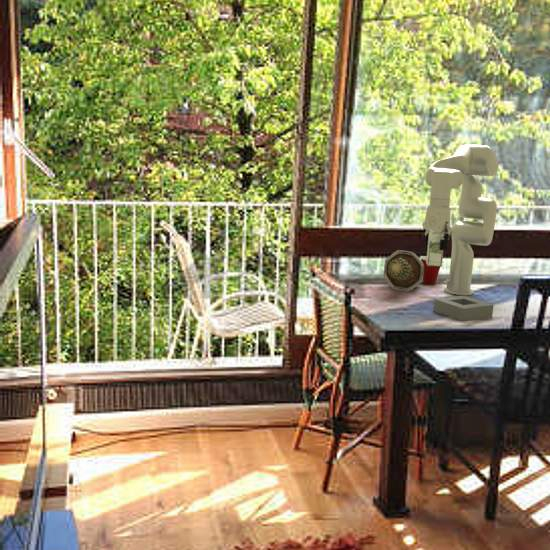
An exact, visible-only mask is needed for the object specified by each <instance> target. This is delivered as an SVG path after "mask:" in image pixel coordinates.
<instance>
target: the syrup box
mask: <svg viewBox="0 0 550 550" xmlns="http://www.w3.org/2000/svg"><path fill="white" fill-rule="evenodd" d="M444 231H445V230H444ZM444 231H443V232H444ZM444 236H445V233H444ZM440 240H442V239H441V235H440V233H435V232H434V230H433V229H430V231H429V236H428V246H427V251H426V256H427V260H426V263H427V266H439V267H440V268H442V267H443V262H442V260H444V258H443V257H444V250H440V249H439V248H440Z"/></svg>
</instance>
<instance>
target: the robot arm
mask: <svg viewBox="0 0 550 550" xmlns="http://www.w3.org/2000/svg"><path fill="white" fill-rule="evenodd" d="M498 171H499V160H498V157H497V155H496V154H495V152H494V150H493V149H492V148H491V147H490V146H489V145H483V144H482V145H481V144H480V145H479V144H463V145H461V146H460V147H459V148H458V149H457V150H456V151H455V153H454V154H453V155H451V156H449V157H446V158H441V159H438V160H437V161H435V162H433V163H432V164H431V166H429V168H428V169H427V171H426V173H425V177H424V178H425V183H426V185H427V186H428V187H430V195H429V204H428V205H427V208H426V213H425V217H424V218H425V219H424V222H423V223H422V228H423V232H424V235H425V240H424V246H425V247H428V236H429V231H430V229H433V230H434V232H435V233H440V235H441V239H442V240H440V248H439V249H440V250H443V251H446V250H447V249H448V241H449V240H450V237H451V255H450V266H449V275H448V276H449V277H448V278H447V279H446V280H444V281H443V285H446V287H444V292H445V293H447V294H450V295H454V294H456V295H455V296H472V295H474V293H475V292H474V290H473V289H472V288H471V285H472V278H473V277H472V276H473V269H474V268H473V266H474V255H475V254H474V250H473V249H472V246H471V245H475V246H489V245H491V244H492V241H493V237H494V231H495V225H496V221H497V220H496V217H497V214H498V213H497V212H498V209H497V208H498V207H497V206H498V205H497V201H496V200H494V199H493V198H488V197H482V191H483V184H482V182H481V180H480V178H479V177H478V176H480V177H481V176H482V177H494V176H495V175H496V174H497V173H498ZM460 187H461V192H460V199H459V205H458V214H459V216H460V217H461V218H464V219H471V220H472V219H473V220H478V221H479V220H480V221H482V222H475V221H470V220H469V221H468V220H466V221H465V220H458V221H456V222H454V223H453V225H452V226H451V207H450V205H451V204H450V202H451V192H452V190H453V189H455V190H456V189H458V188H460ZM444 230H445V231H444ZM443 231H444V232H443ZM444 233H445V236H444Z"/></svg>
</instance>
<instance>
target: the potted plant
mask: <svg viewBox="0 0 550 550" xmlns="http://www.w3.org/2000/svg"><path fill="white" fill-rule="evenodd" d="M423 273H424V265H423V262H422V261H421V258H420V257H418V256H417V255H416V253H414V252H413V251H408V250H400V249H398V250H396V251H394V252H393V253H391V255H389V256H388V257H386V258H385V260H384V265H383V278H384V280H385V281H386V283H388V286H390V287H391V288H392V289H393V290H396V291H402V290H403V292H411V291H413V290H414V288H416V287H418V286H419V285H420V284H421V283H423Z"/></svg>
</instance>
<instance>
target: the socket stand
mask: <svg viewBox="0 0 550 550" xmlns="http://www.w3.org/2000/svg"><path fill="white" fill-rule="evenodd" d="M433 300H434V301H433V309H432V311H433V312H434V311H435V313H438V314H440V315H443V316H446V317H449V318H452V319H454V320H457V321H460V322H468V321H474V320H483V319H488V318H490V319H491V318H493V316H494V315H493V314H494V304H491V303H489V302H486V301H483V300H480V299H477V298H472V297H470V296H468V295H455V296H450V297H449V296H448V297H438V298H434V299H433Z"/></svg>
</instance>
